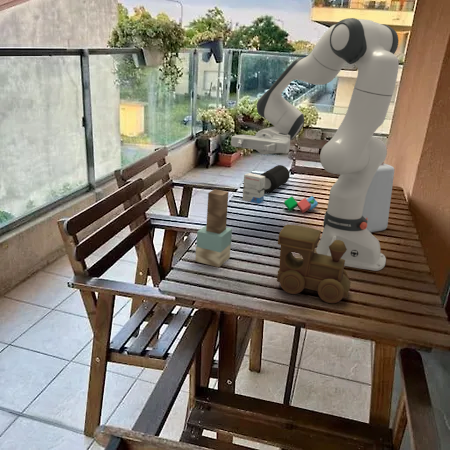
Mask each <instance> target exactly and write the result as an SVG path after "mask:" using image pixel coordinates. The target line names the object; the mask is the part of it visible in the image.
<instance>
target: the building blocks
mask: <svg viewBox="0 0 450 450" xmlns="http://www.w3.org/2000/svg"><path fill="white" fill-rule="evenodd" d="M283 204H284V206H285V207H286V209H287V210H288V211H289V212H292V211H293V210H294V209H296V208H298V210H299V211H300V212H301V214H303V213H304V214H305V212H307V211H312V210H313V209H315V208H316V207H317V206H318V205H319V201H317V200H316V199H315V197H314V195H312V196H310V197H308V198H307V197H305V198H302V199H301V200H300V201H297V200H296V199H295V197H294V196H290V197H288V198H287V199H286V200H284V203H283Z"/></svg>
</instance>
